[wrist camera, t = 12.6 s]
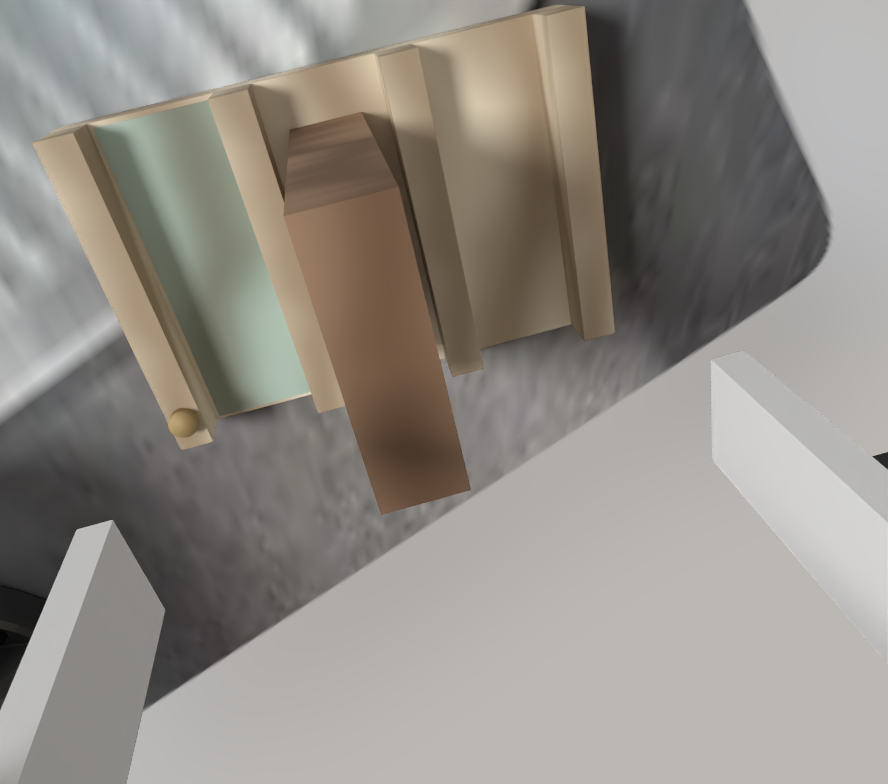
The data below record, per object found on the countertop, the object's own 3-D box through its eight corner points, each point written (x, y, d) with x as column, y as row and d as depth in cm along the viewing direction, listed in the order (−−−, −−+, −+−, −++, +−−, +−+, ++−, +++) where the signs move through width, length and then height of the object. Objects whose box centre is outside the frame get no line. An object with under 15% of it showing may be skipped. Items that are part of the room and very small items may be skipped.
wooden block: (353, 344, 34) (379, 515, 23) (288, 130, 29) (281, 216, 18) (416, 327, 35) (472, 489, 23) (362, 111, 30) (400, 186, 18)
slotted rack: (191, 412, 36) (179, 457, 33) (59, 127, 29) (26, 146, 26) (589, 305, 37) (619, 338, 34) (556, 4, 30) (590, 6, 27)
